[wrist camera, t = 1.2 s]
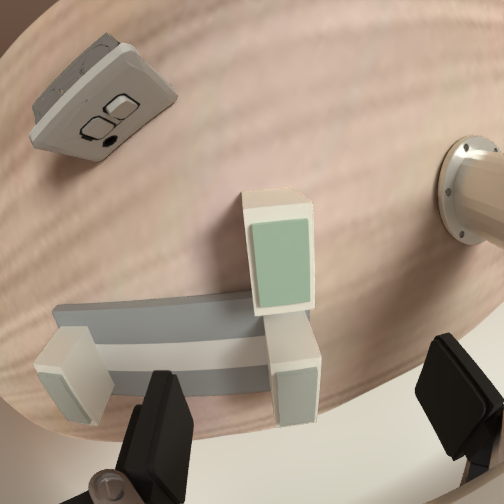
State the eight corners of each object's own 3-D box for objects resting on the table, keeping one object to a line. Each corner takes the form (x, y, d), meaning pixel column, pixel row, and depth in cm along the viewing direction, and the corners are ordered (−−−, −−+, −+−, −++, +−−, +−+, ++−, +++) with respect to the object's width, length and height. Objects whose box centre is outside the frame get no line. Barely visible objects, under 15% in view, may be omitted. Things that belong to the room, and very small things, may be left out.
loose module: (293, 186, 25) (314, 204, 18) (297, 270, 28) (316, 312, 21) (241, 191, 25) (243, 210, 18) (250, 275, 28) (255, 320, 21)
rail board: (306, 283, 28) (309, 291, 27) (305, 377, 33) (308, 385, 32) (57, 304, 28) (51, 311, 27) (95, 385, 33) (92, 393, 31)
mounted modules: (304, 309, 28) (323, 361, 21) (304, 374, 31) (317, 426, 24) (60, 326, 28) (30, 367, 20) (89, 382, 31) (69, 425, 24)
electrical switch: (101, 163, 23) (37, 166, 14) (77, 123, 22) (13, 113, 13) (182, 98, 22) (145, 64, 13) (153, 58, 21) (110, 16, 12)
